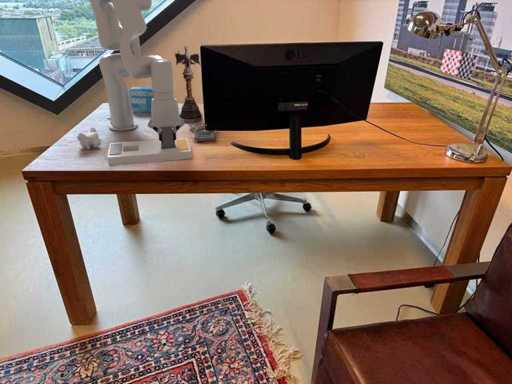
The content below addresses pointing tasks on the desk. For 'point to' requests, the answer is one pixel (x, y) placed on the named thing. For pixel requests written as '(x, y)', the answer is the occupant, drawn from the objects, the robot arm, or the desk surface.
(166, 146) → the grey long rectangular block
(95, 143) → the elephant figurine
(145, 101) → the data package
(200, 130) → the graphics card
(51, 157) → the desk surface
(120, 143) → the socket block
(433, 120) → the desk surface
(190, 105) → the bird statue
